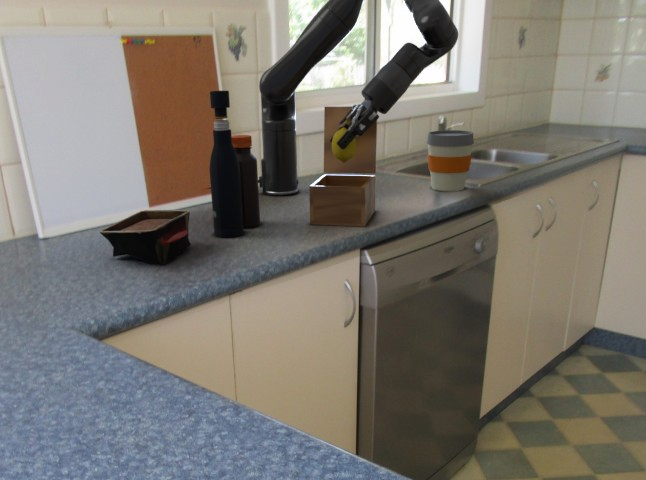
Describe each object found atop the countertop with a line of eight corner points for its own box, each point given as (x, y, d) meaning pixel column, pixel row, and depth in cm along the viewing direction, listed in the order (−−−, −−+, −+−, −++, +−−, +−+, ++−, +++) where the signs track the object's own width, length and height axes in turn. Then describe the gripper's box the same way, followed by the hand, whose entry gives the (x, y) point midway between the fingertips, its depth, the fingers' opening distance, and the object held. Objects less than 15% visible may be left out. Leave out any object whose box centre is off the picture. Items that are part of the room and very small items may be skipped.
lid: (377, 106, 154) (380, 107, 159) (324, 106, 157) (329, 107, 162) (375, 173, 158) (378, 172, 163) (323, 172, 161) (328, 171, 166)
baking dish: (98, 271, 130) (89, 224, 124) (148, 234, 144) (141, 191, 139) (162, 283, 125) (155, 235, 120) (207, 244, 139) (202, 200, 134)
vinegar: (235, 221, 156) (230, 134, 149) (263, 221, 155) (259, 134, 148) (226, 228, 150) (220, 138, 143) (255, 229, 149) (250, 138, 142)
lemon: (347, 165, 148) (347, 129, 146) (327, 164, 152) (326, 128, 149) (360, 162, 152) (360, 126, 150) (340, 160, 156) (340, 125, 153)
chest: (364, 226, 148) (364, 187, 145) (310, 224, 151) (309, 186, 148) (374, 211, 162) (375, 175, 158) (324, 209, 165) (323, 174, 161)
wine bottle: (249, 231, 147) (240, 90, 136) (234, 238, 142) (224, 92, 131) (224, 229, 150) (214, 90, 139) (208, 236, 144) (197, 92, 134)
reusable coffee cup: (452, 194, 177) (455, 137, 172) (415, 188, 186) (417, 133, 181) (480, 187, 185) (483, 132, 179) (443, 181, 194) (446, 129, 188)
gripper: (409, 101, 143) (356, 160, 145) (387, 97, 156) (339, 151, 158) (385, 76, 140) (332, 137, 142) (366, 74, 153) (317, 130, 155)
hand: (336, 144), depth 150 cm, fingers closed on lemon, 5 cm apart
